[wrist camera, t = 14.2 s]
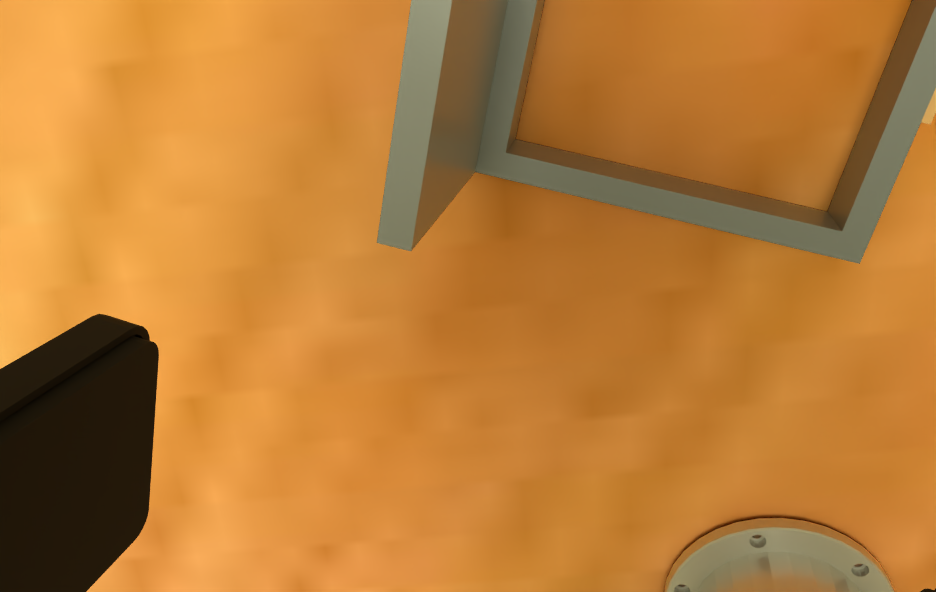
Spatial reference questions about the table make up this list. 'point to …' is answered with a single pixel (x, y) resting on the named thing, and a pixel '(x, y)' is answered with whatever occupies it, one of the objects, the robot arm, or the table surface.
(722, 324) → the table surface
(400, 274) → the table surface
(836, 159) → the table surface
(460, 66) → the equipment case
